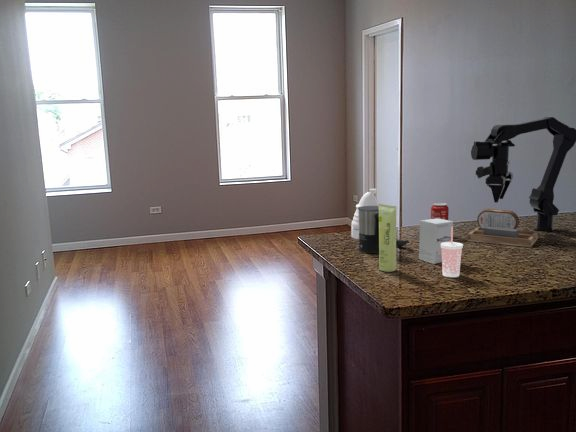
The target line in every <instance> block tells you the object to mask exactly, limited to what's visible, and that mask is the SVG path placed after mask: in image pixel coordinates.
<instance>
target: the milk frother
mask: <svg viewBox="0 0 576 432" xmlns="http://www.w3.org/2000/svg"><path fill="white" fill-rule="evenodd" d="M358 209H359V239H358V252H360V253H363V254H364V253H365V254H379V206H361V207H358ZM409 243H410V241H409V240H401V239H398V240H397V239H396V248H398V249H401V248H403V246H405V245H406V244H409Z"/></svg>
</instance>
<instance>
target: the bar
mask: <svg viewBox="0 0 576 432" xmlns="http://www.w3.org/2000/svg"><path fill="white" fill-rule="evenodd" d="M519 230H520V229H518V228H516V229H509V228H499V227H489V226H487V227H485V228H484V229H483V235H489V236H500V237H511V238H519Z"/></svg>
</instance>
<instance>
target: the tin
mask: <svg viewBox="0 0 576 432" xmlns="http://www.w3.org/2000/svg"><path fill="white" fill-rule="evenodd" d="M476 221H477V224H478V227H484V228H485V227H487V226H489V227H499V228H509V229H518V227H519V225H520V218H519V216H518V214H517V213H516V212H514V211H513V210H508V209H495V208H485V209H483V210H481V212H479V214H478V216H477V218H476Z"/></svg>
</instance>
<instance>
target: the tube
mask: <svg viewBox="0 0 576 432" xmlns="http://www.w3.org/2000/svg"><path fill="white" fill-rule="evenodd" d="M396 241H397V205H389V204H384V203H383V204H382V203H379V253H378V255H379V256H378V257H379V259H378V260H379V261H378V262H379V270H380V271H381V272H386V273H387V272H388V273H389V272H394V271H396V270H397V246H396Z"/></svg>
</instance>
